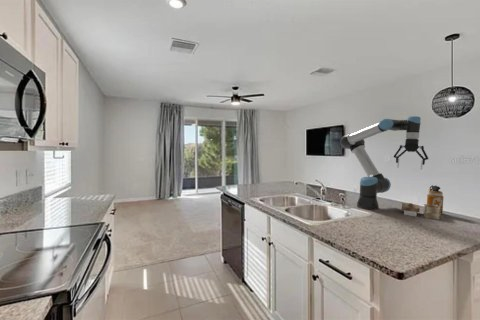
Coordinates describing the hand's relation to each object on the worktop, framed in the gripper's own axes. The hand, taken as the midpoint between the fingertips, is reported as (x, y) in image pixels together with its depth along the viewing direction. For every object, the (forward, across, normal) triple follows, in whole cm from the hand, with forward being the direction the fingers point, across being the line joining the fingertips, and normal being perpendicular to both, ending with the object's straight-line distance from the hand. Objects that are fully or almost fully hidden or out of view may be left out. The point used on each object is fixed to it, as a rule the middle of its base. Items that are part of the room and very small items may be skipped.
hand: (409, 168), depth 170 cm
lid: (+29, +3, -3) cm, 29 cm away
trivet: (+32, +3, -3) cm, 32 cm away
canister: (+32, +17, +10) cm, 38 cm away
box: (+31, +15, -3) cm, 35 cm away
